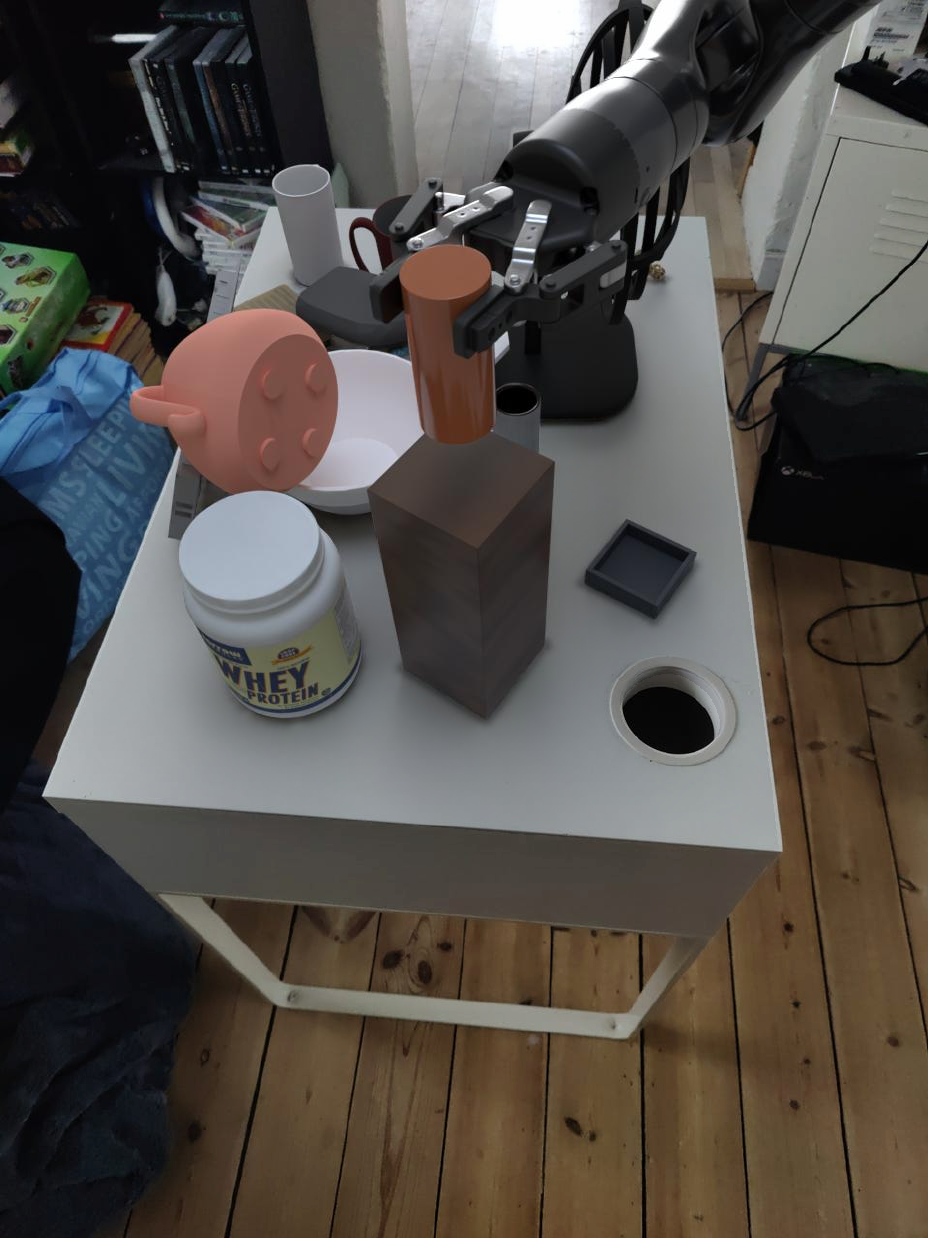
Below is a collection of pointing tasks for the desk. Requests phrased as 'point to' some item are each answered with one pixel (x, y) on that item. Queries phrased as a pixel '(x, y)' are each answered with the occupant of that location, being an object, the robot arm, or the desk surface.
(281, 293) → the ink box
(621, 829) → the desk surface
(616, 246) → the robot arm
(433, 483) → the plant stand
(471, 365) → the copper brown cylinder
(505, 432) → the gray hollow tube
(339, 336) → the spray bottle
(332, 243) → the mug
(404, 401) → the bowl
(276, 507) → the supplement tub
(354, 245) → the mug
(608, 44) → the desk fan
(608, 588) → the tray
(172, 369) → the teapot
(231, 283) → the building model
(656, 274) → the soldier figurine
